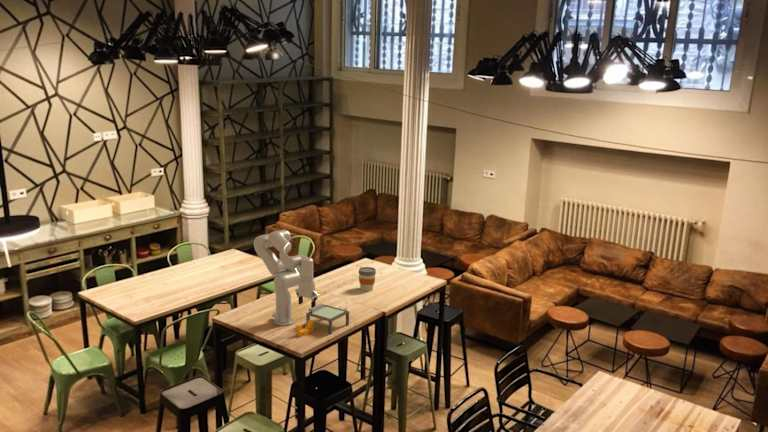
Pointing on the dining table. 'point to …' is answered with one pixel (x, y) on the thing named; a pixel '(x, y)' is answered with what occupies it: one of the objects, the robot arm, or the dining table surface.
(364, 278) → the reusable coffee cup
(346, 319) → the frame
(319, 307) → the trapdoor
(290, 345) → the dining table surface
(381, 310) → the dining table surface
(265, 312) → the dining table surface
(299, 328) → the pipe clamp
